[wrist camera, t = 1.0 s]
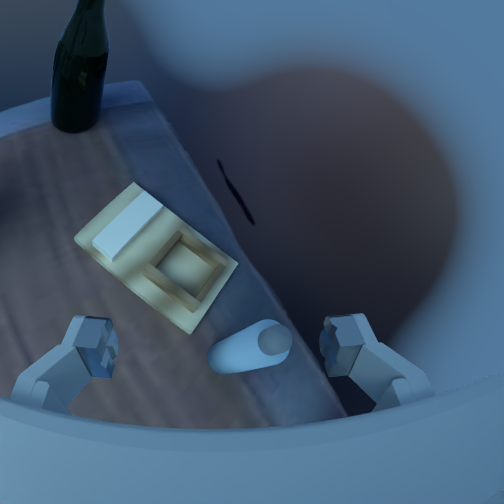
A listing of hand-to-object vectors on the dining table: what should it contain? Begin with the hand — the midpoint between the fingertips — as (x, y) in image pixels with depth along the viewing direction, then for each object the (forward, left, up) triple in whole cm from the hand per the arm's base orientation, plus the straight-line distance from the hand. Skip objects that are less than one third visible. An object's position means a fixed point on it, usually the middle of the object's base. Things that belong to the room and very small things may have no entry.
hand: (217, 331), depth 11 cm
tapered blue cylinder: (+9, +9, -32) cm, 34 cm away
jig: (-8, +16, -32) cm, 36 cm away
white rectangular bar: (-14, +16, -30) cm, 37 cm away
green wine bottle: (-40, +27, -32) cm, 58 cm away
